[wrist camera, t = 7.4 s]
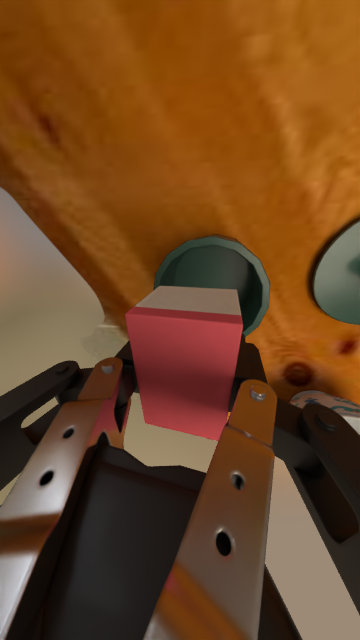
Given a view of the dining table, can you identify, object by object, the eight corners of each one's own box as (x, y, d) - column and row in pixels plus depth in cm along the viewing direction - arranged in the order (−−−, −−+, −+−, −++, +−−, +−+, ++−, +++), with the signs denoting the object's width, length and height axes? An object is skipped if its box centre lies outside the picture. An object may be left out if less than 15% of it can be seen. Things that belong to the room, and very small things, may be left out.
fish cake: (159, 285, 10) (123, 313, 7) (237, 289, 9) (243, 324, 6) (165, 373, 13) (144, 423, 10) (223, 383, 12) (223, 442, 9)
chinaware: (385, 412, 28) (435, 469, 21) (298, 437, 35) (315, 485, 29) (328, 356, 26) (362, 400, 19) (248, 395, 33) (253, 436, 27)
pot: (205, 213, 21) (196, 206, 15) (278, 274, 22) (299, 293, 16) (157, 288, 28) (135, 306, 21) (216, 333, 29) (213, 363, 22)
